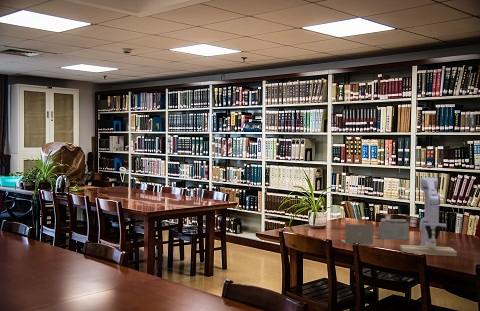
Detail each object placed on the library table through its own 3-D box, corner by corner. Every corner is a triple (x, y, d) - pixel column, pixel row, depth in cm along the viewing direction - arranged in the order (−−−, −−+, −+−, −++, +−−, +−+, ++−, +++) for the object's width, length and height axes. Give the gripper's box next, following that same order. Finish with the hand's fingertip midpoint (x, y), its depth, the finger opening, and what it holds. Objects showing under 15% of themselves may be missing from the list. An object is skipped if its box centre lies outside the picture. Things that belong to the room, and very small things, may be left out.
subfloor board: (399, 249, 316) (400, 244, 315) (450, 251, 311) (450, 247, 311) (403, 253, 303) (403, 249, 303) (456, 256, 299) (456, 251, 298)
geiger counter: (407, 218, 351) (371, 217, 350) (410, 219, 344) (374, 219, 343) (406, 238, 351) (370, 238, 350) (410, 240, 345) (373, 239, 344)
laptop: (367, 241, 340) (367, 221, 340) (372, 245, 328) (373, 224, 328) (340, 241, 340) (341, 221, 339) (345, 244, 327) (345, 224, 327)
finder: (425, 245, 313) (425, 240, 313) (433, 246, 312) (434, 241, 312) (427, 247, 308) (427, 242, 308) (435, 248, 307) (436, 242, 307)
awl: (429, 241, 305) (429, 228, 305) (435, 241, 304) (435, 228, 304) (430, 242, 302) (430, 229, 302) (436, 243, 301) (436, 229, 301)
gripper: (422, 216, 300) (421, 239, 300) (448, 217, 298) (447, 240, 298) (419, 214, 307) (419, 237, 307) (445, 215, 305) (444, 238, 305)
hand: (432, 238), depth 303 cm, fingers closed on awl, 3 cm apart
